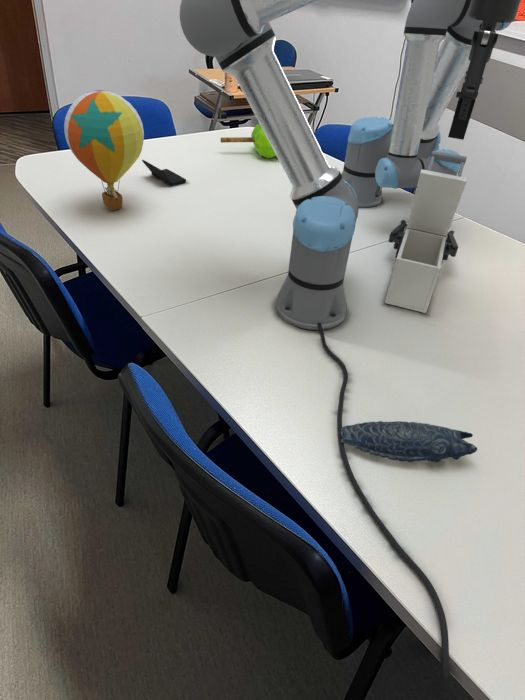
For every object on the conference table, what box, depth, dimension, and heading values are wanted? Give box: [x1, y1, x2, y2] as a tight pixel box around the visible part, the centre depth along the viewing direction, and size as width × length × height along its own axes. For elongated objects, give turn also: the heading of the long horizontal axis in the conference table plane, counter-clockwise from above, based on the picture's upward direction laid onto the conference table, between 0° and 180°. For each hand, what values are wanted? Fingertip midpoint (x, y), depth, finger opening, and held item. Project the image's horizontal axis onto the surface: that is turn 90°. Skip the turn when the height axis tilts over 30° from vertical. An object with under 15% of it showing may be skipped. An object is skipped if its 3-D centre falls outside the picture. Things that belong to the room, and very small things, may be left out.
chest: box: [384, 229, 446, 314], centre depth 119 cm, size 17×9×11 cm, turn 160°
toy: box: [63, 89, 145, 212], centre depth 136 cm, size 20×20×30 cm
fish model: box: [340, 420, 478, 463], centre depth 82 cm, size 7×21×5 cm, turn 84°
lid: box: [407, 151, 468, 236], centre depth 115 cm, size 18×9×9 cm
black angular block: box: [141, 159, 187, 187], centre depth 162 cm, size 12×7×10 cm
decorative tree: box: [220, 122, 277, 159], centre depth 187 cm, size 18×10×30 cm
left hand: (457, 128), depth 97 cm, fingers open, 13 cm apart
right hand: (419, 257), depth 122 cm, fingers closed on chest, 9 cm apart
